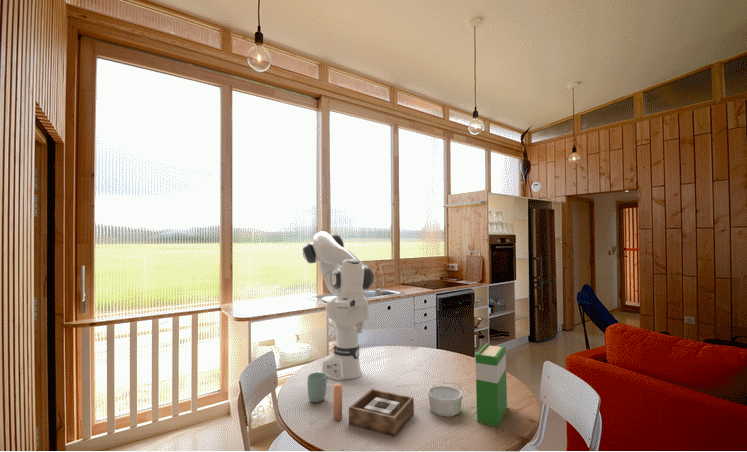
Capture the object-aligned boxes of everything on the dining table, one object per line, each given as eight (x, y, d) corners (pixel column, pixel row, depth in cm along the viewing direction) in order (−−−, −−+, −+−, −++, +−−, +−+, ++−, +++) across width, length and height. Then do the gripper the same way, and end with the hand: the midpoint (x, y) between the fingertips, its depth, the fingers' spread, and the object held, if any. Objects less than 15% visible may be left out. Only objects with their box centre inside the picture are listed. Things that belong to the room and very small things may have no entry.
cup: (329, 397, 143) (329, 373, 144) (320, 405, 136) (321, 380, 137) (313, 395, 146) (313, 371, 147) (303, 403, 139) (304, 377, 139)
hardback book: (487, 403, 138) (486, 342, 140) (507, 407, 134) (505, 345, 136) (477, 422, 123) (475, 354, 125) (498, 427, 119) (496, 357, 121)
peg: (331, 419, 125) (331, 386, 126) (336, 415, 128) (336, 382, 129) (339, 421, 124) (339, 387, 125) (343, 417, 127) (343, 384, 127)
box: (348, 424, 121) (348, 407, 122) (371, 404, 137) (371, 388, 138) (395, 437, 113) (394, 418, 114) (413, 413, 129) (413, 397, 130)
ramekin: (456, 422, 123) (455, 402, 123) (422, 413, 130) (422, 394, 130) (467, 408, 134) (466, 389, 135) (435, 400, 141) (435, 383, 142)
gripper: (358, 296, 146) (359, 329, 144) (332, 303, 127) (332, 340, 126) (371, 297, 143) (372, 330, 142) (346, 303, 124) (347, 342, 123)
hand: (353, 335), depth 134 cm, fingers open, 8 cm apart
